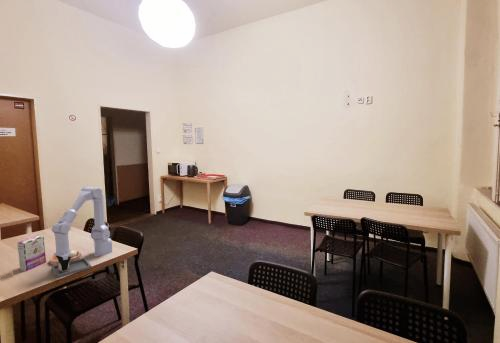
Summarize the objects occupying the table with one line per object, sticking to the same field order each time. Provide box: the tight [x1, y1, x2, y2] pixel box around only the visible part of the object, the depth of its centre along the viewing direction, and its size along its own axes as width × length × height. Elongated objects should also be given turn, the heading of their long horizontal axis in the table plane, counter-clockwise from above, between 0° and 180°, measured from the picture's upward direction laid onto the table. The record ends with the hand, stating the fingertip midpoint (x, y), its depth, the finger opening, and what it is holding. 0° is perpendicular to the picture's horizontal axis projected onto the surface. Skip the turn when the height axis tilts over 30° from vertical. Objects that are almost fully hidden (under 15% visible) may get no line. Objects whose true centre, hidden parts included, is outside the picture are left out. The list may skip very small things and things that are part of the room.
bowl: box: [49, 250, 82, 266], centre depth 156 cm, size 15×15×3 cm
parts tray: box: [51, 257, 92, 279], centre depth 145 cm, size 16×14×2 cm
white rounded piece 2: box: [68, 249, 78, 258], centre depth 158 cm, size 5×5×4 cm
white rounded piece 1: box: [58, 263, 69, 272], centre depth 142 cm, size 5×5×4 cm
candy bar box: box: [16, 235, 47, 272], centre depth 146 cm, size 11×5×16 cm, turn 168°
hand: (64, 268), depth 142 cm, fingers closed on white rounded piece 1, 5 cm apart
